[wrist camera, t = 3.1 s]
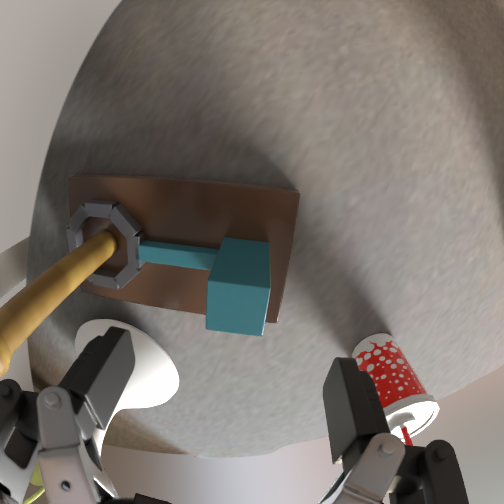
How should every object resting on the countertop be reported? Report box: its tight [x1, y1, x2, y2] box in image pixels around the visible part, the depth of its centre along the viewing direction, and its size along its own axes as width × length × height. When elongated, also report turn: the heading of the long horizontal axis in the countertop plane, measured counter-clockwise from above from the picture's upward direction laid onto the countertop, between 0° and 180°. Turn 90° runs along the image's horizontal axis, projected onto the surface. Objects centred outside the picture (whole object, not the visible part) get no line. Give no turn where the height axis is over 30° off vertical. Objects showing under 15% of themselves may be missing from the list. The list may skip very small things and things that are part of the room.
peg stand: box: [0, 174, 300, 377], centre depth 13 cm, size 17×10×16 cm, turn 84°
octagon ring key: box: [66, 200, 271, 336], centre depth 16 cm, size 15×7×6 cm, turn 84°
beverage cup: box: [352, 333, 439, 446], centre depth 17 cm, size 6×6×14 cm
